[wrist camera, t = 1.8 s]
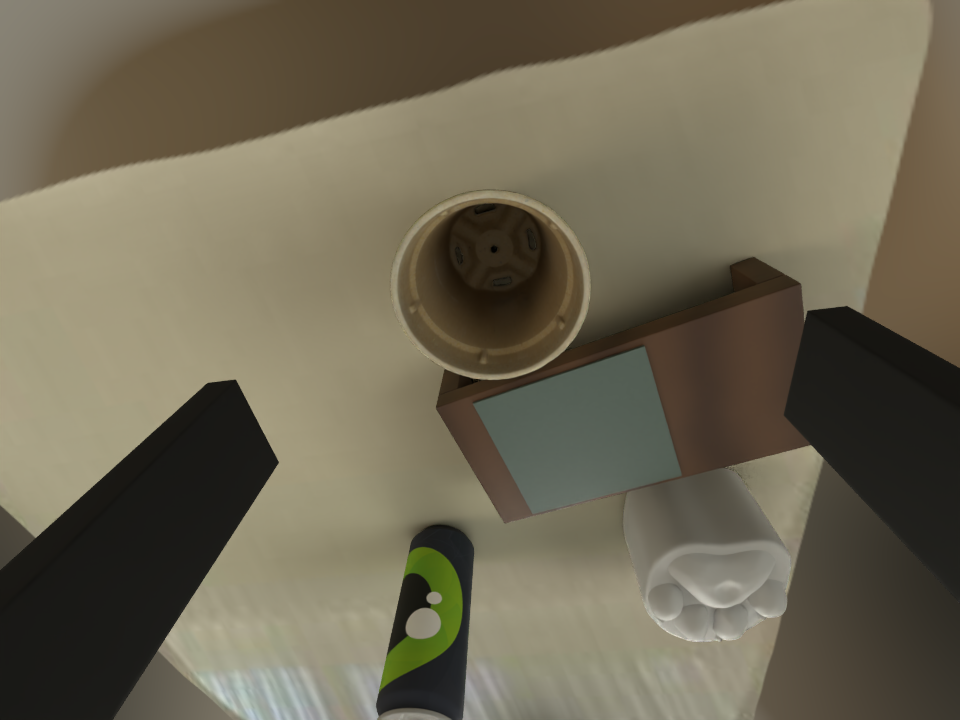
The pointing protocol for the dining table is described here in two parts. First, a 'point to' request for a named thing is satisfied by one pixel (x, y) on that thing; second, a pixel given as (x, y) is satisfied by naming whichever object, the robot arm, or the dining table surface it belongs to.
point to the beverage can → (430, 630)
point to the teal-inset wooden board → (638, 402)
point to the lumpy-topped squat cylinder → (705, 556)
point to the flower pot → (490, 285)
